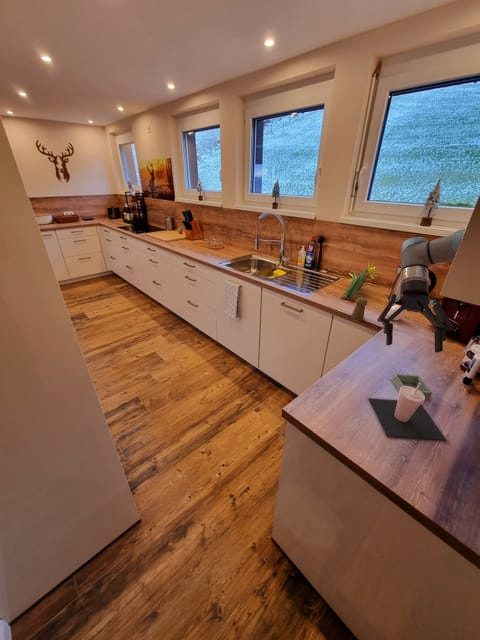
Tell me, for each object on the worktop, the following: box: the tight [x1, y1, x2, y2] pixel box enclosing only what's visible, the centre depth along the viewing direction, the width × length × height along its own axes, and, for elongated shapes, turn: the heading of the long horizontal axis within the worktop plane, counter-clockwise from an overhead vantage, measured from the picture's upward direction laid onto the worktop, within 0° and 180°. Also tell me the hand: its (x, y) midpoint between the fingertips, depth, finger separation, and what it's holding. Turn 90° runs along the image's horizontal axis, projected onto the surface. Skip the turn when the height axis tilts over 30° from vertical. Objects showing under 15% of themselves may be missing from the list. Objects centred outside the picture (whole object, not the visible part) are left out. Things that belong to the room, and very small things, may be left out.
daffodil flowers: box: [341, 259, 377, 302], centre depth 164 cm, size 17×15×35 cm
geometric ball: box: [386, 304, 406, 321], centre depth 134 cm, size 8×8×8 cm
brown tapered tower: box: [350, 296, 368, 322], centre depth 133 cm, size 6×6×11 cm
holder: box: [391, 373, 433, 400], centre depth 90 cm, size 8×8×3 cm
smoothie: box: [395, 382, 426, 422], centre depth 76 cm, size 6×6×14 cm
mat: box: [368, 398, 447, 442], centre depth 79 cm, size 16×14×1 cm
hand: (413, 348), depth 79 cm, fingers open, 13 cm apart
